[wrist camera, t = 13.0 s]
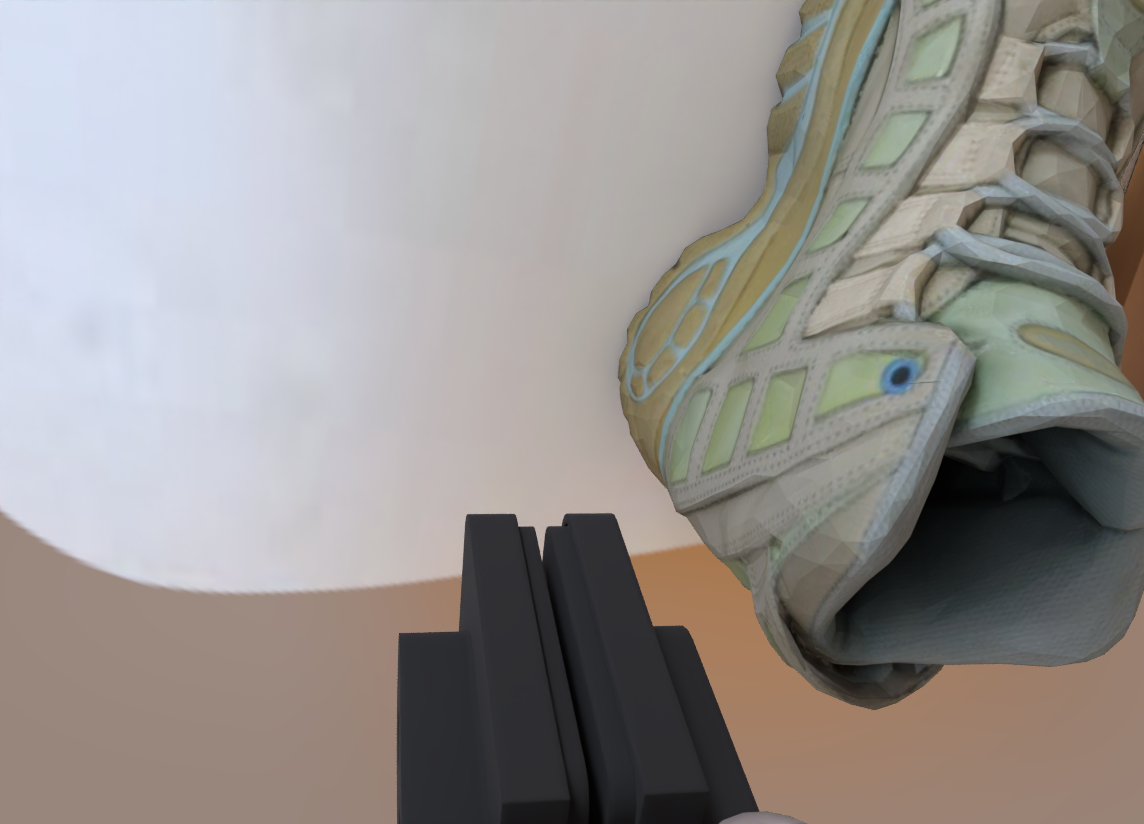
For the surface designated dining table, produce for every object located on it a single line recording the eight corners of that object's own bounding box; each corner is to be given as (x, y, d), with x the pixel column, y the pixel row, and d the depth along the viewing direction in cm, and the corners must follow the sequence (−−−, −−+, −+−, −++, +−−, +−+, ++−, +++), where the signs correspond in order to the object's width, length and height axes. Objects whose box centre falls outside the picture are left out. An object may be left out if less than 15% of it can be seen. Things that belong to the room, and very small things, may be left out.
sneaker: (1209, 62, 29) (1838, 168, 16) (726, 499, 34) (892, 867, 21) (995, -247, 25) (1585, -455, 12) (486, 295, 30) (497, 582, 17)
